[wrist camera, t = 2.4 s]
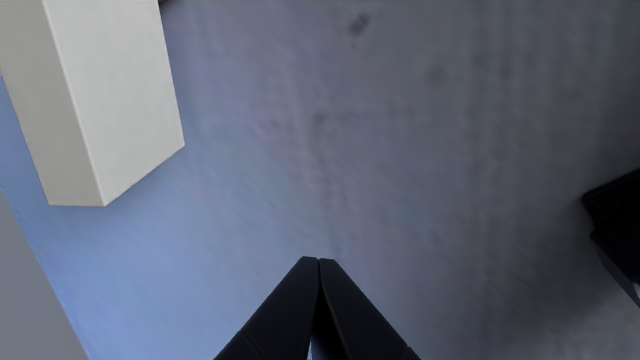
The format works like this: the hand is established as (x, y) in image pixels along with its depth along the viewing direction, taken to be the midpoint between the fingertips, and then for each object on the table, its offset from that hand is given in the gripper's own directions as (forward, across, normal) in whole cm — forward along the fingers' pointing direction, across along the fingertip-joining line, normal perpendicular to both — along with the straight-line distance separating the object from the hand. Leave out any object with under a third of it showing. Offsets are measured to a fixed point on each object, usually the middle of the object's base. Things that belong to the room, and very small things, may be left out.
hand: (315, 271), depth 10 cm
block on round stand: (+13, -9, +3) cm, 16 cm away
